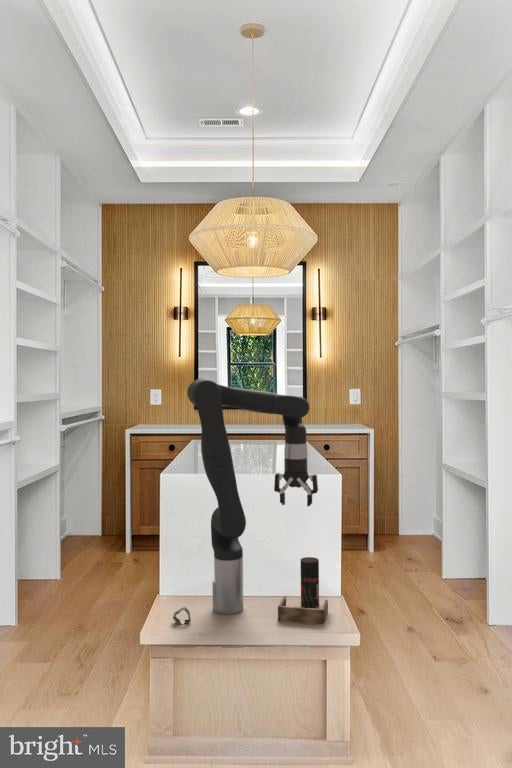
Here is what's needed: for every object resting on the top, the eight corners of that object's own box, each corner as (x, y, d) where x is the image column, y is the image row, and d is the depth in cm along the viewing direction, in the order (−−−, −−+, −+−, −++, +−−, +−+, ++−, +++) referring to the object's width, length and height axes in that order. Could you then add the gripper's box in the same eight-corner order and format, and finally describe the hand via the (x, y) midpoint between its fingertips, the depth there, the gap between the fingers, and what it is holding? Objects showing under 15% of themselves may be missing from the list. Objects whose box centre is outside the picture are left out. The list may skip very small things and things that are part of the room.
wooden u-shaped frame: (278, 620, 203) (278, 606, 203) (283, 610, 212) (283, 596, 211) (324, 625, 200) (323, 610, 199) (327, 613, 208) (327, 599, 208)
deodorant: (318, 609, 212) (317, 563, 211) (299, 608, 213) (299, 562, 213) (320, 602, 218) (319, 557, 217) (302, 601, 219) (301, 556, 218)
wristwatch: (182, 625, 204) (171, 615, 203) (194, 614, 204) (183, 603, 203) (182, 630, 201) (170, 620, 200) (194, 619, 201) (183, 608, 200)
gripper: (272, 457, 216) (272, 506, 216) (315, 458, 212) (315, 508, 213) (277, 454, 223) (277, 501, 224) (318, 455, 220) (319, 503, 220)
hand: (296, 505), depth 218 cm, fingers open, 8 cm apart
